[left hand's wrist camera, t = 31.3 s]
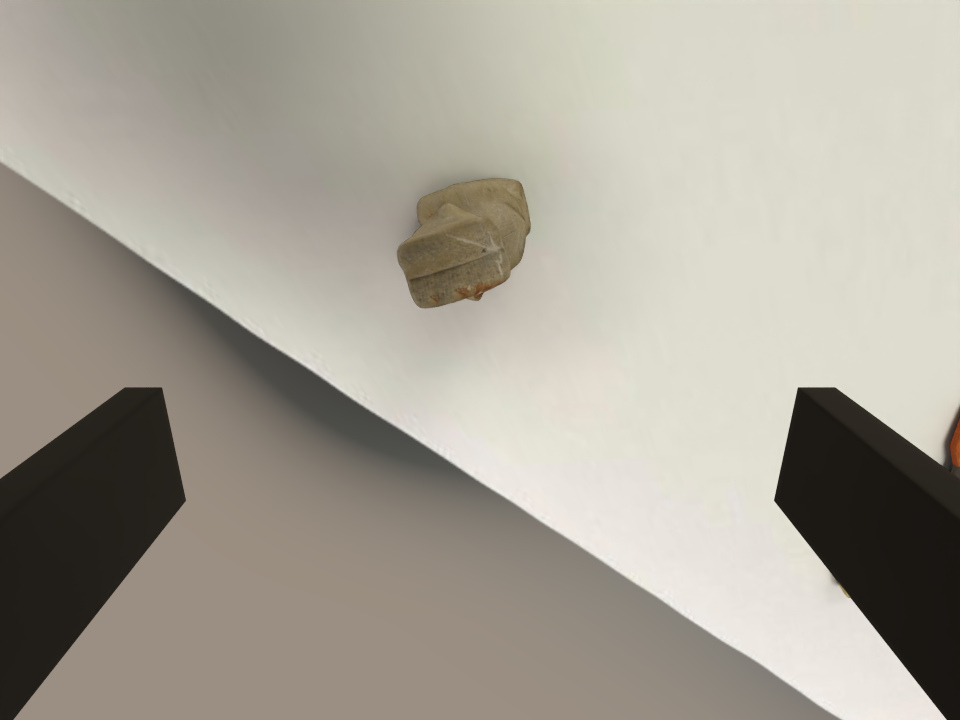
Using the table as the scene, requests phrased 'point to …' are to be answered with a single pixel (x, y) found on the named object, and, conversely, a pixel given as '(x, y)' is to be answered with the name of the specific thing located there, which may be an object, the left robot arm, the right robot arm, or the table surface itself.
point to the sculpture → (465, 241)
